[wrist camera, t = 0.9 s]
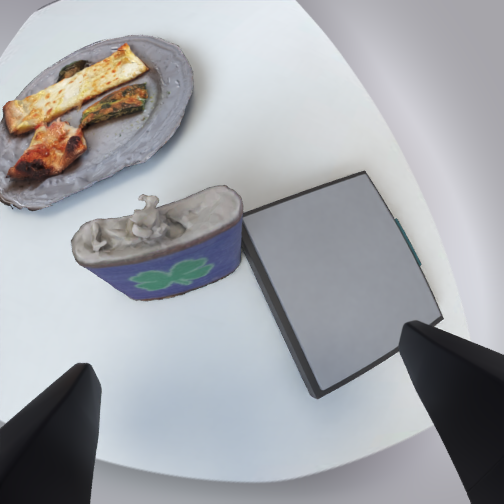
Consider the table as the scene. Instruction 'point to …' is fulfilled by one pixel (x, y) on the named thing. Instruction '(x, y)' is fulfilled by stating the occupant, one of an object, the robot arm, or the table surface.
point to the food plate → (91, 118)
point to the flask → (165, 245)
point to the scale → (337, 278)
